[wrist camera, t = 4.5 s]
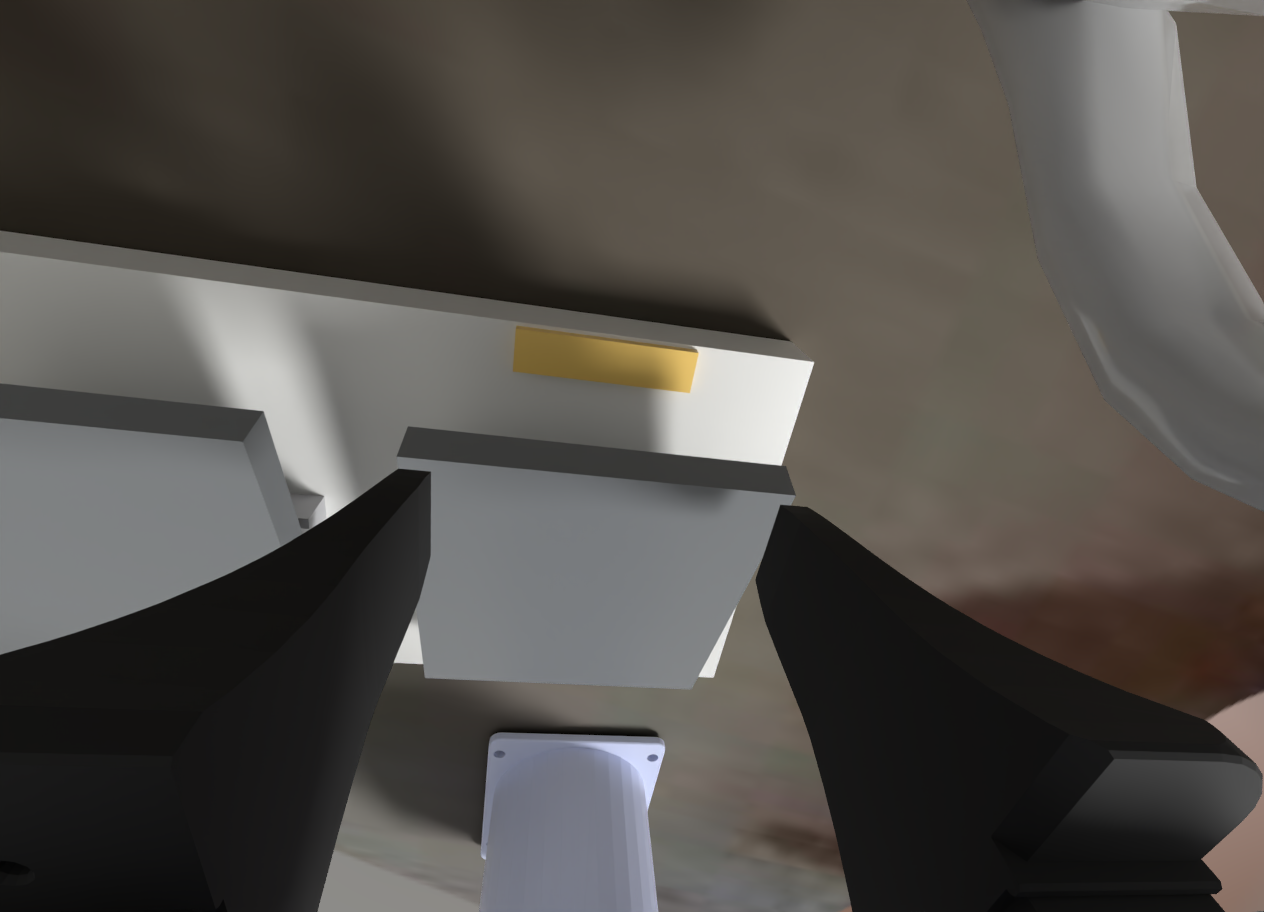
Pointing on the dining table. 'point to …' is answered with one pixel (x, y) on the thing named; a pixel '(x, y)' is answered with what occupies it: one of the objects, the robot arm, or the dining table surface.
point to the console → (383, 366)
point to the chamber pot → (1135, 225)
